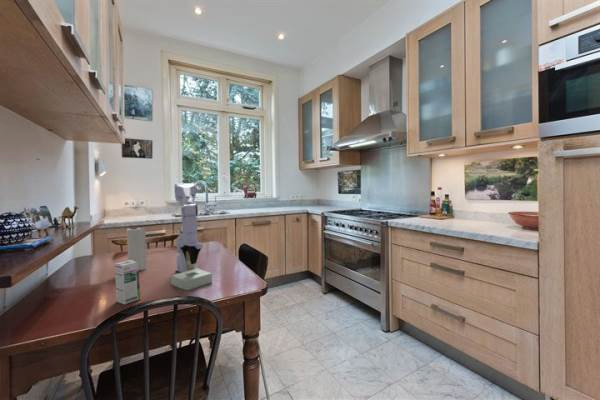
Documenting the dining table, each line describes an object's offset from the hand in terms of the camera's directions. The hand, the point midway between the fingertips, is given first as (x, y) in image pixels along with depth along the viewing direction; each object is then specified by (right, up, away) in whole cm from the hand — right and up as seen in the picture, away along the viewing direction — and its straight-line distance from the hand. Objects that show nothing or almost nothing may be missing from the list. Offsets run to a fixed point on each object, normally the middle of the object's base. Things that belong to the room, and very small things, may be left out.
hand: (191, 262), depth 119 cm
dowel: (0, -3, 0) cm, 3 cm away
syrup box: (-17, -10, -17) cm, 26 cm away
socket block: (0, -9, +1) cm, 9 cm away
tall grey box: (-36, -9, +21) cm, 42 cm away
